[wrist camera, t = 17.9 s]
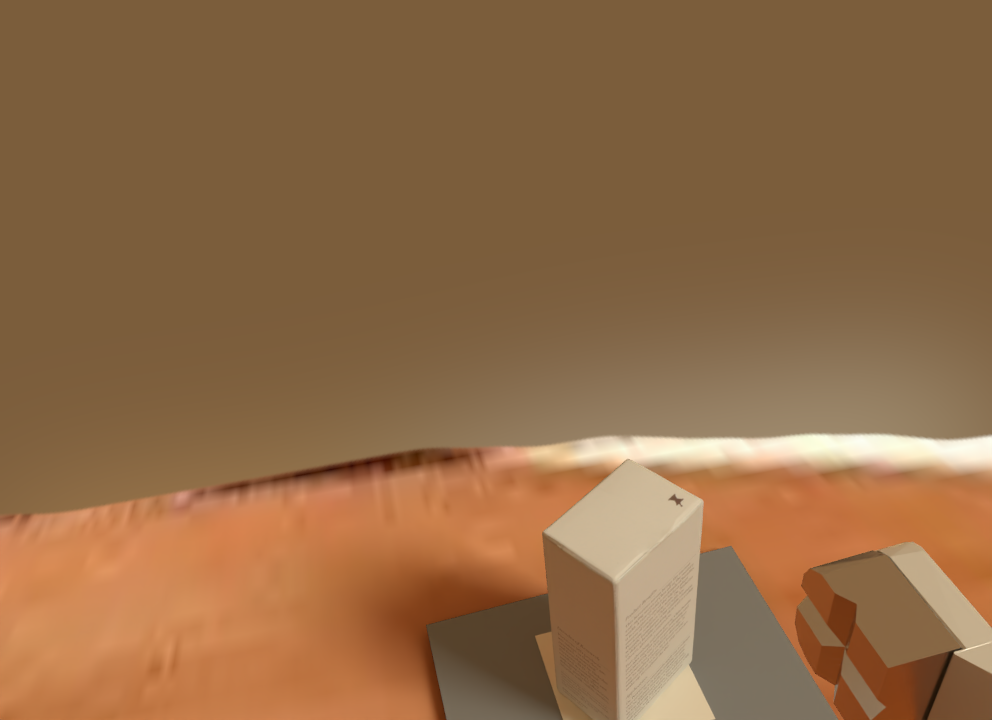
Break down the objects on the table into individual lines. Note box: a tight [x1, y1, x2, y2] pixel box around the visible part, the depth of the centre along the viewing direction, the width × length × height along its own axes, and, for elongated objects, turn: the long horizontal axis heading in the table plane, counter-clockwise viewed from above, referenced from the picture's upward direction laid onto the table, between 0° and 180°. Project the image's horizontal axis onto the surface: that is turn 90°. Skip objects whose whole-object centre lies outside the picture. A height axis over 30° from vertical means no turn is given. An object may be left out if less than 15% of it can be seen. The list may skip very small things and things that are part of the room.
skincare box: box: [542, 459, 703, 720], centre depth 40 cm, size 6×4×12 cm
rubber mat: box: [426, 546, 838, 720], centre depth 44 cm, size 18×12×1 cm, turn 104°
